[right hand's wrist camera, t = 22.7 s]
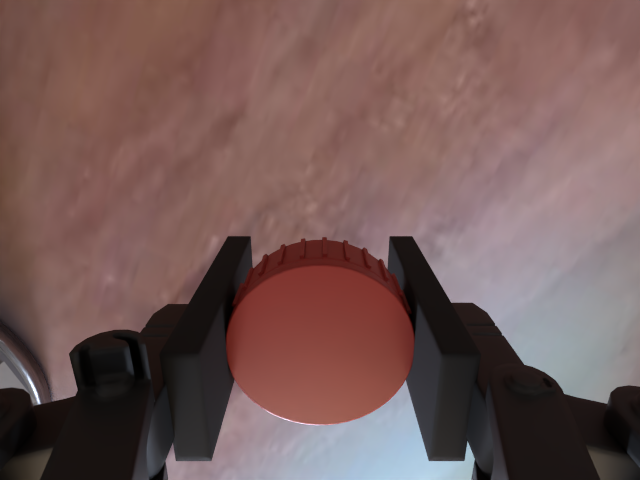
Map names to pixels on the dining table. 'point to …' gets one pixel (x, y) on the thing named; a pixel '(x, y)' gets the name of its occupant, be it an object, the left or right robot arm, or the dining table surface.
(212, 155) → the dining table surface
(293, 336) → the lid
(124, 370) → the right robot arm
